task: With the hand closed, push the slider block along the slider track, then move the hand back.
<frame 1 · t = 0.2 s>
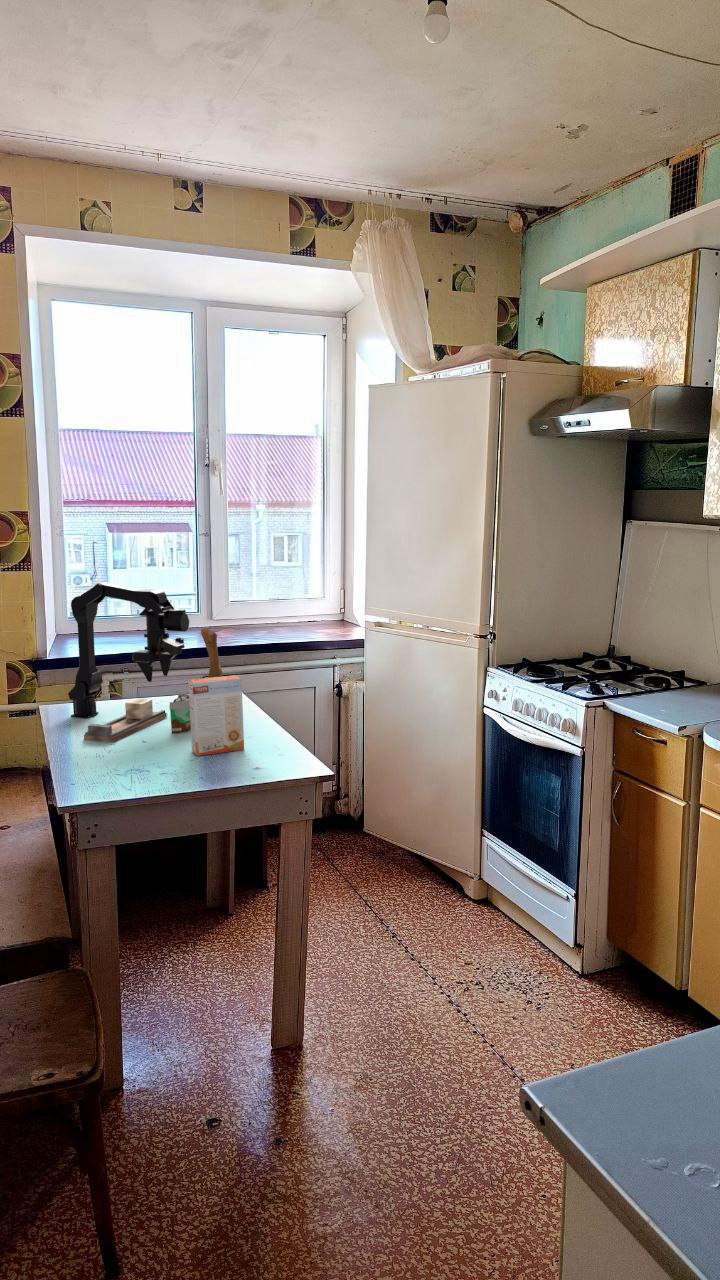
hand: (157, 678, 273), 14 cm above the table, fingers open, 9 cm apart
cracker box: (217, 751, 244), on the table
food container: (185, 730, 266), on the table
slider block: (139, 708, 274), point 4 cm above the table, slide at 0.0 cm
slider track: (127, 728, 268), on the table
tan tall curved piece: (216, 712, 288), on the table
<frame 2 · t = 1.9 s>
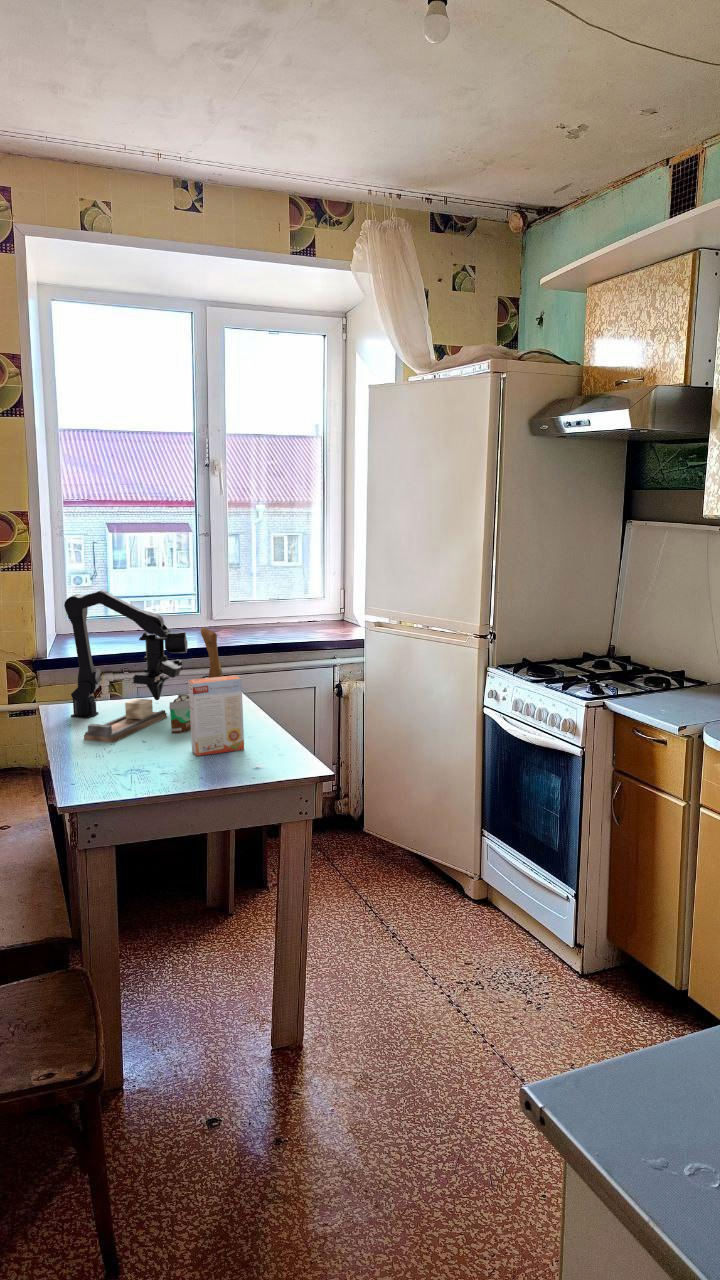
hand: (157, 699, 284), 5 cm above the table, fingers closed
nothing on the table moved.
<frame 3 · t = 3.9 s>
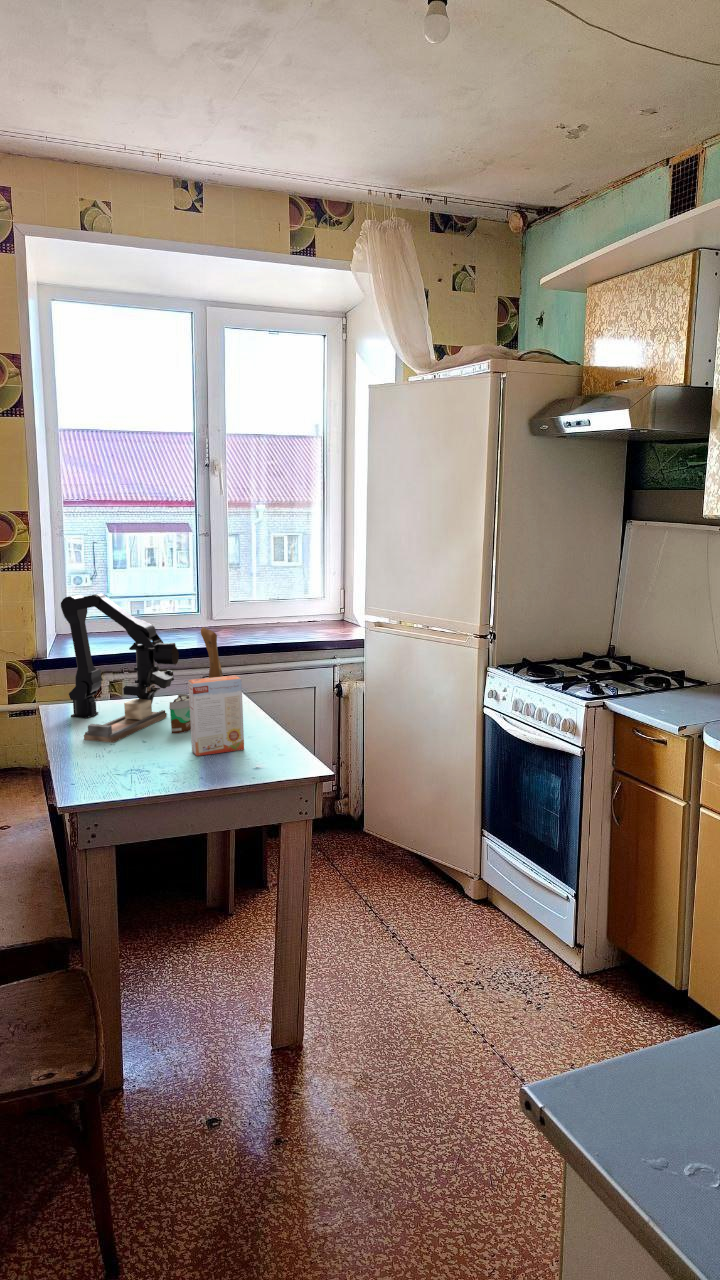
hand: (148, 710, 279), 2 cm above the table, fingers closed
slider block: (138, 709, 273), point 4 cm above the table, slide at 0.5 cm, touching gripper
everything else where it was.
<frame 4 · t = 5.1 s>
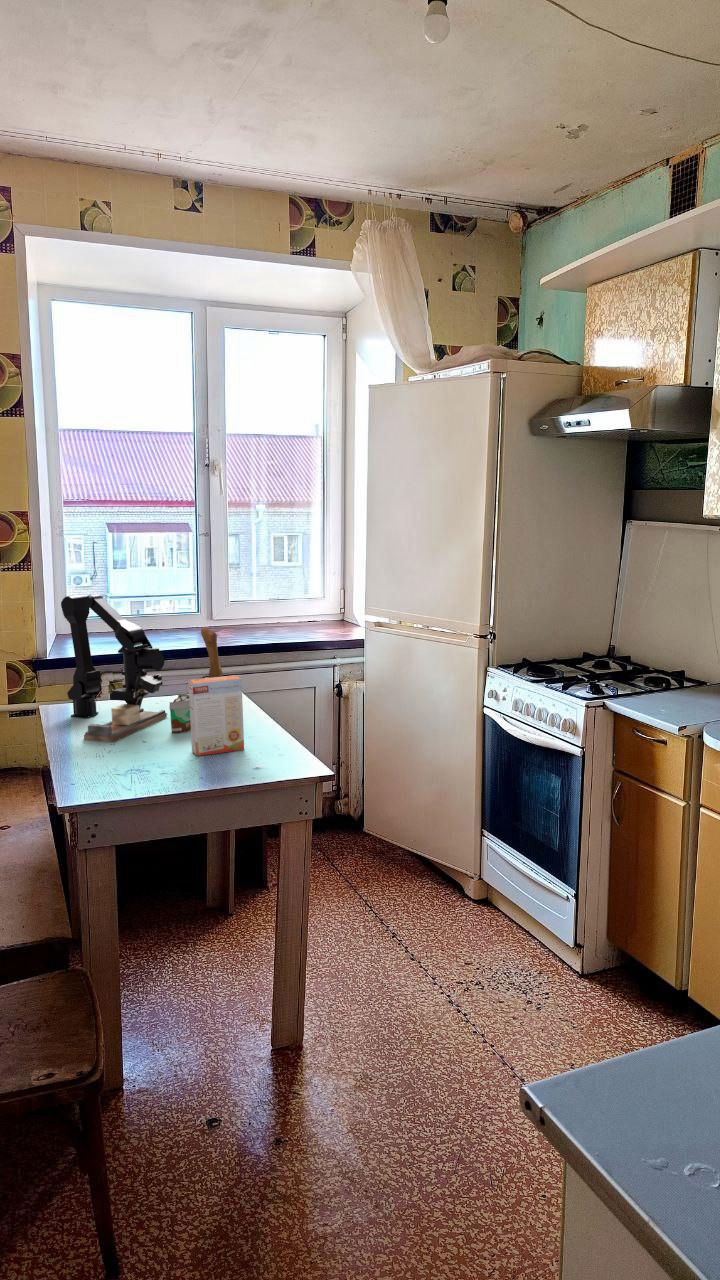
hand: (136, 716, 272), 3 cm above the table, fingers closed
slider block: (125, 714, 267), point 4 cm above the table, slide at 7.4 cm, touching gripper
everything else where it was.
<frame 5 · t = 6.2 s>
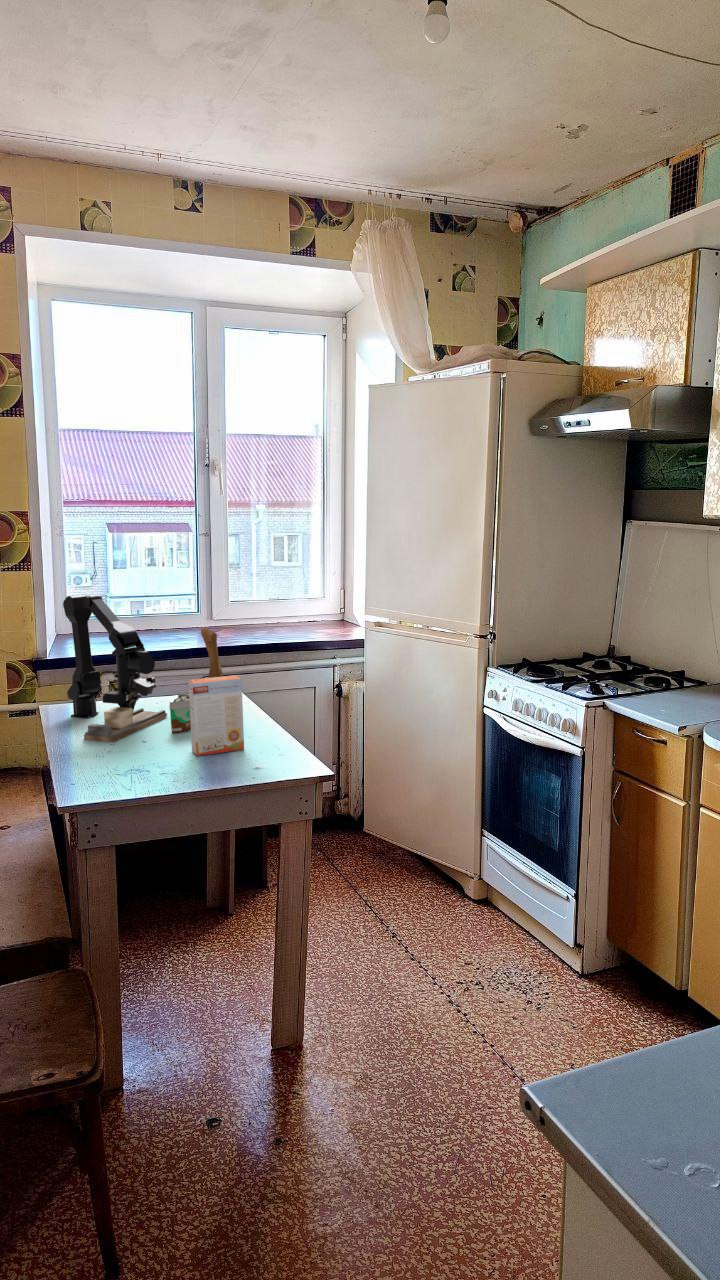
hand: (129, 719, 268), 3 cm above the table, fingers closed
slider block: (118, 717, 263), point 4 cm above the table, slide at 11.3 cm, touching gripper
everything else where it was.
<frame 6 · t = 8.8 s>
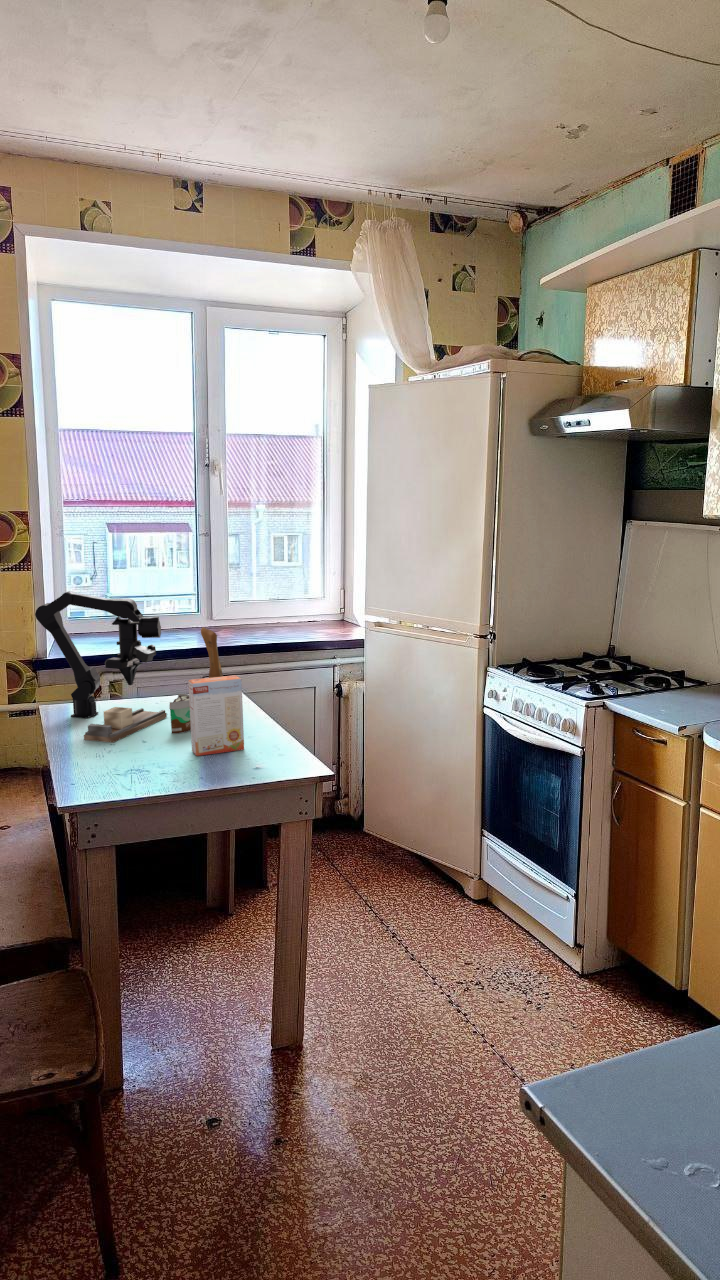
hand: (130, 685, 282), 10 cm above the table, fingers closed
slider block: (118, 717, 263), point 4 cm above the table, slide at 11.5 cm
everything else where it was.
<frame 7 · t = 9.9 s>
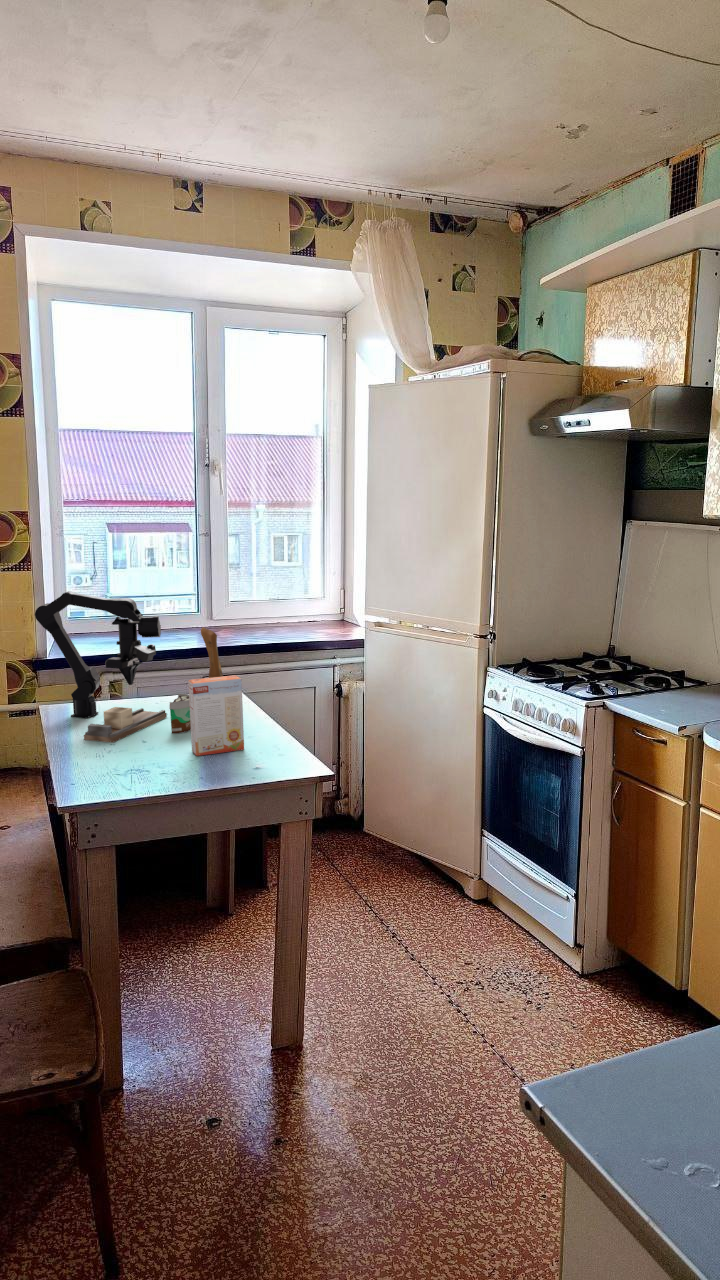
hand: (130, 684, 283), 10 cm above the table, fingers closed
nothing on the table moved.
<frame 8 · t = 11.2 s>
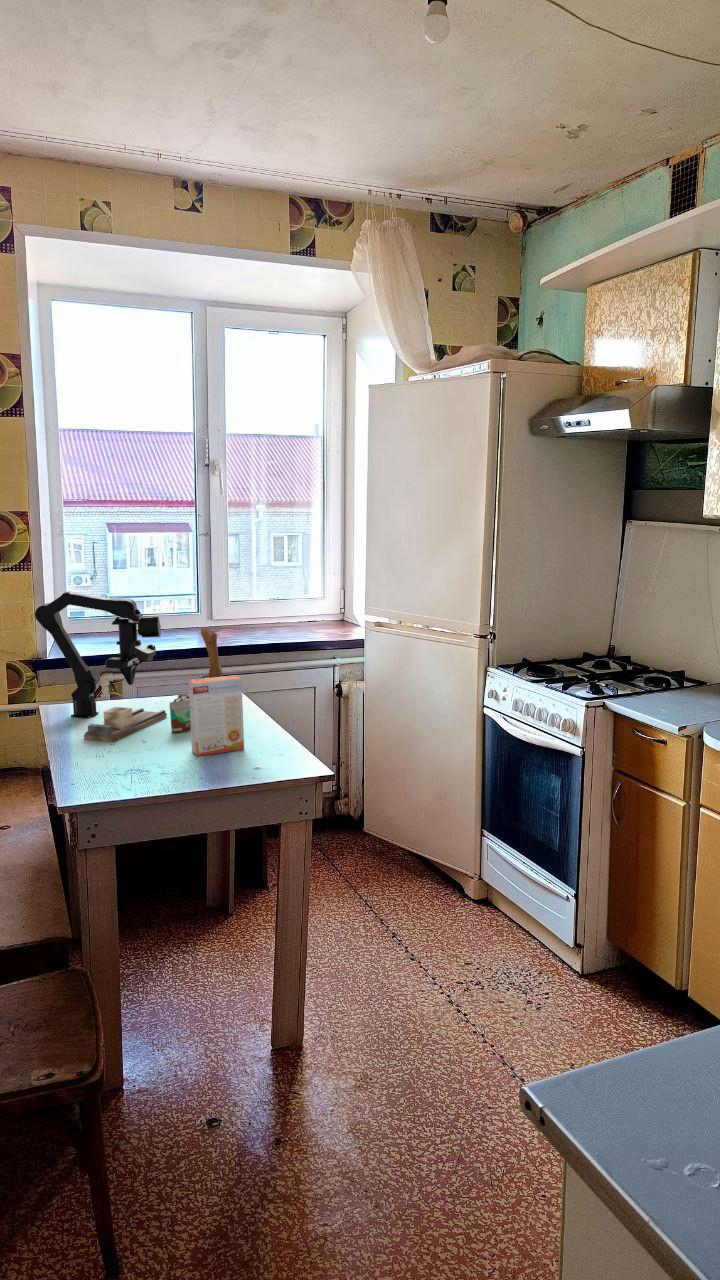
hand: (130, 684, 283), 10 cm above the table, fingers closed
nothing on the table moved.
at the end: slider block slide at 11.5 cm; food container moved 0.2 cm from its start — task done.
